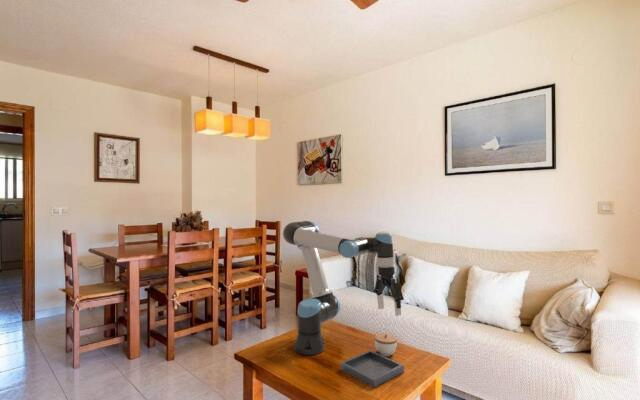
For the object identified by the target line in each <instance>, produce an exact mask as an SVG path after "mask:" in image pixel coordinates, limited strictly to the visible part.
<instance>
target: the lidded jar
mask: <svg viewBox="0 0 640 400" xmlns="http://www.w3.org/2000/svg"><path fill="white" fill-rule="evenodd" d="M397 345H398V337H397V336H396V335H394V334H392V333H387V332H386V333H385V332H383V333H381V332H380V333H377V334H376V335H374V346H375V349H376V351H377V353H378V354H380V355H382V356H384V357H390V355H391V356H393V354H394V353H395V352H396V350H397Z"/></svg>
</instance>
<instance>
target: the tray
mask: <svg viewBox="0 0 640 400" xmlns="http://www.w3.org/2000/svg"><path fill="white" fill-rule="evenodd" d="M339 367H340V370H341V371H342V372H345V373H346V374H348V375H349V376H350V377H351V376H352V377H354V379H357V380H359V381H361V382H363V383H365V384H366V385H368V386H369V387H372V388H373V389H375V388H377V387H379V386H380V385H382V384H384V383H386V382H388V381H390V380H392V379H394V378H395V377H398V376H399V375H401V374H403V373H404V372H405V365H404V364H402V363H400V362H398V361H395V360H393V359H391V358H388V356H383V355H381V354H380V353H379V352H375V351H374V350H372V349H369V350H367V351H365V352H361V353H359V354H357V355H355V356H353V357H351V358H348V359H346V360H344V361H341V362H340V364H339Z"/></svg>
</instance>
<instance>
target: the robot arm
mask: <svg viewBox="0 0 640 400" xmlns="http://www.w3.org/2000/svg"><path fill="white" fill-rule="evenodd" d="M282 236H283V239H284V241H286V243H288V244H290V245H295V246H297V249H299V250H301V254H302V257H303V261H304V264H305V268H306V269H305V270H306V272H307V275H308V279H309V284H310V286H311V291H312V295H311V298H307V299H304V300H301V301H299V303H298V306H297V313H296V314H297V335H296V338H295V341H294V345H293V346H294V348H293V349H294V351H295V352H297V353H298V354H300V355H304V356H305V355H306V356H313V355H318V354H322V353H323V351H324V350H325V349H326V348H325V345H326V344H325V342H324V338H323V335H322V324H324V323H325V322H327V321H330V320H333V319H334V318H335V317H337V315H339V313H340V310H341V303H340V302H341V301H340V300H339V298H338V297H337V296H336V295H334V293H333V291H332V290H330V289H329V286H328V282H327V278H326V275H325V271H324V267H323V265H322V264H323V263H322V261H321V257H320V254H319V251H318V249H319V250H323V251H328V252H330V253H336V254H339V255H341V256H342V257H343V258H347V259H349V258H350V259H352V258H355V257H357V256H361V255H365V254H377V255H376V257H377V259H376V260H377V266H378V268H377V269H378V271H377V272H378V273H377V274H376V280H375V285H374V291H373V292H374V294H376V296H377V308H378V310H382V309H384V308H385V303H384V294H383V292H384V290H385V289H386V287H387V288H388V289H389V290H390V292H391V294H392V296H393V299H394V301H393V303H394V315H395V317H399V316H401V315H402V309H401V308H402V301H404V299H405V297H404V295H403V292H402V289H401V287H400V284H399V278H398V277H394V275H395V273H396V272H395V266H394V265H395V261H394V246H393V245H394V244H393V243H394V241H393V236H392V234H391V233H390V232H378V233H376V234H375V237H361V236H360V237H356V238H354V239H351V238H350V239H349V238H345V237H339V236H336V235H330V234H326V233H321V232H320V228H319V227H318V225H317V224H316V222H313V221H310V220H304V221H303V220H302V221H293V222H290V223H288V224H287V225H286V226H285V227H283V232H282Z"/></svg>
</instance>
